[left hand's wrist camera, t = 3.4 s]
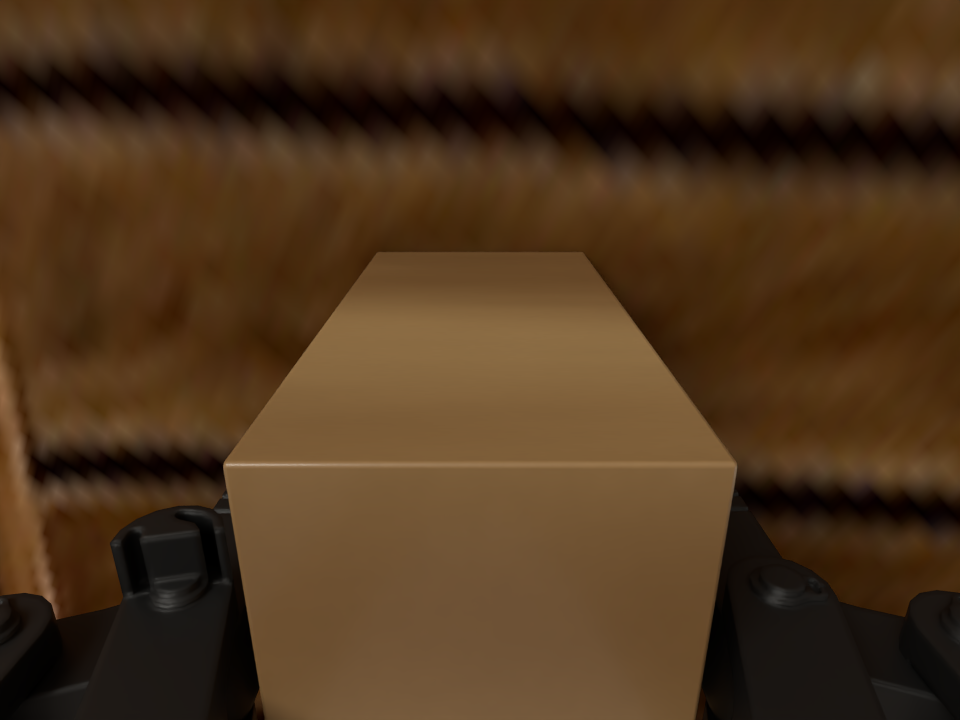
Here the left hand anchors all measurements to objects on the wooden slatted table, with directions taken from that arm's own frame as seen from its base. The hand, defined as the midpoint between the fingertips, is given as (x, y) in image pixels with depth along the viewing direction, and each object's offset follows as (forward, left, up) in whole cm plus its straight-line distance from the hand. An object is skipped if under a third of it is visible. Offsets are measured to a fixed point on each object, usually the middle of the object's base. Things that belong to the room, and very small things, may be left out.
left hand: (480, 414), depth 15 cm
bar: (0, +9, -1) cm, 9 cm away
